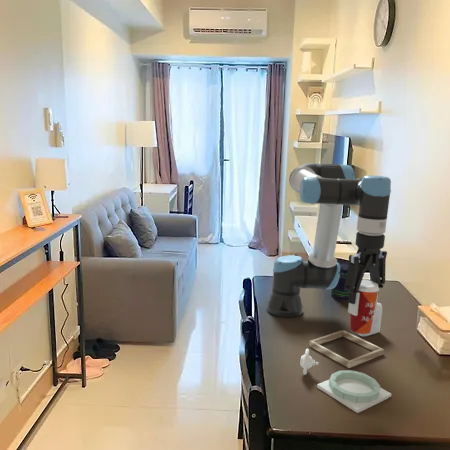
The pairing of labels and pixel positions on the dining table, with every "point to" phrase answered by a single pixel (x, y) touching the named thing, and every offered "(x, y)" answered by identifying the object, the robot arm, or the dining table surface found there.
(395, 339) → the dining table surface
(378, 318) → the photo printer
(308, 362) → the ring around a ball
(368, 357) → the tray frame
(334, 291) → the storage jar
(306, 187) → the robot arm
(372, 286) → the paper cup
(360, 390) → the cup holder
